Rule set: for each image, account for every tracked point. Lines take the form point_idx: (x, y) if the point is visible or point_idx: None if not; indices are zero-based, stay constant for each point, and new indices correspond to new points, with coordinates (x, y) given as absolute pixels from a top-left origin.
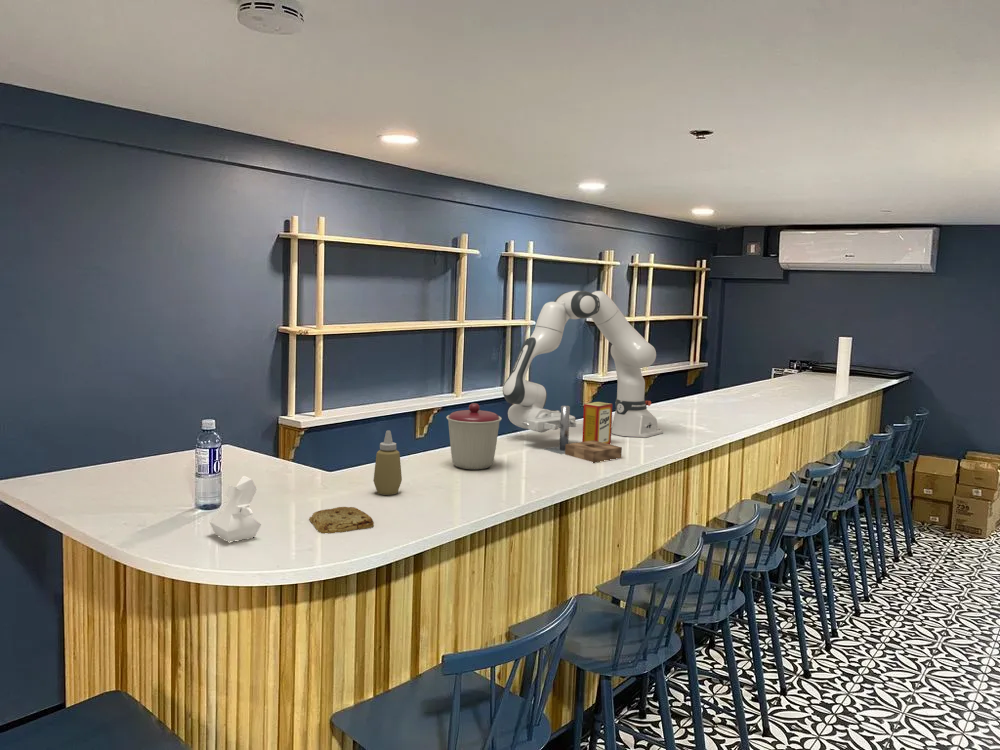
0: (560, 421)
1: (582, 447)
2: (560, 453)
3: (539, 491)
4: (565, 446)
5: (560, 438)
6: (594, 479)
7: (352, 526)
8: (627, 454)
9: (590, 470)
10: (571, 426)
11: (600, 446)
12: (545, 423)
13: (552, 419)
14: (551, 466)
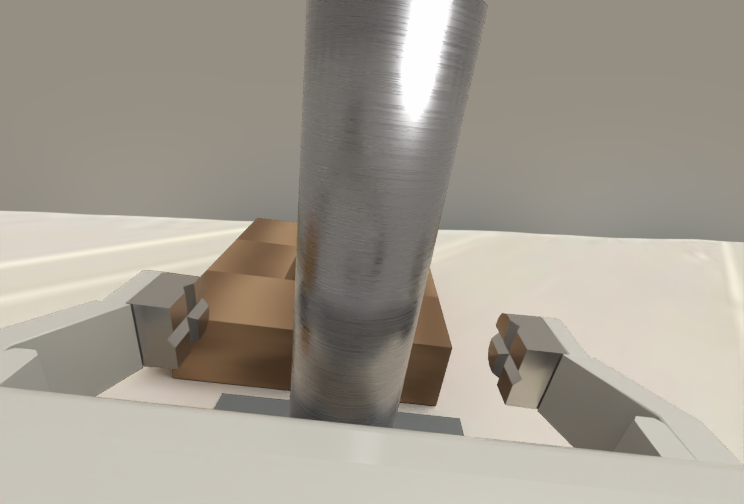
0: (418, 296)
1: None
2: (453, 432)
3: (684, 251)
4: (448, 359)
5: None
6: (518, 234)
7: None
8: (156, 269)
9: (481, 257)
10: (188, 344)
11: (295, 258)
12: (713, 438)
13: (481, 463)
14: (606, 326)
